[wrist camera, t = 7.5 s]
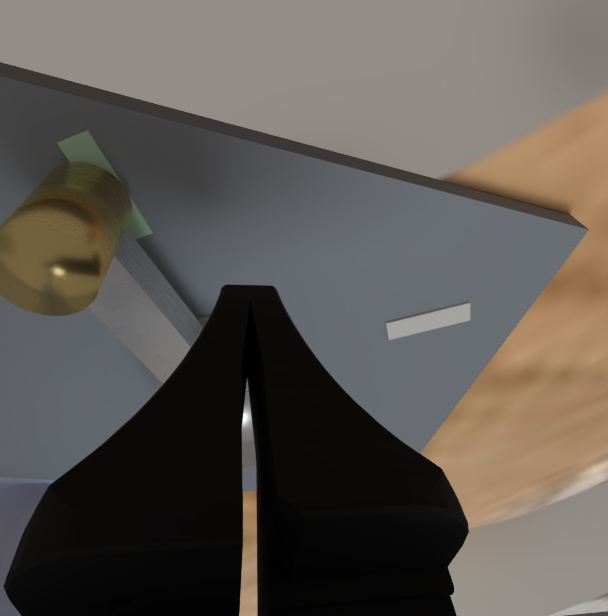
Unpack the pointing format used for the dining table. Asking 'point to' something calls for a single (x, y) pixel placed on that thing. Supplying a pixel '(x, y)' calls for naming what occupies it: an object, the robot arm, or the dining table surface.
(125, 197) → the lever
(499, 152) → the dining table surface
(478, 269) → the stand base
